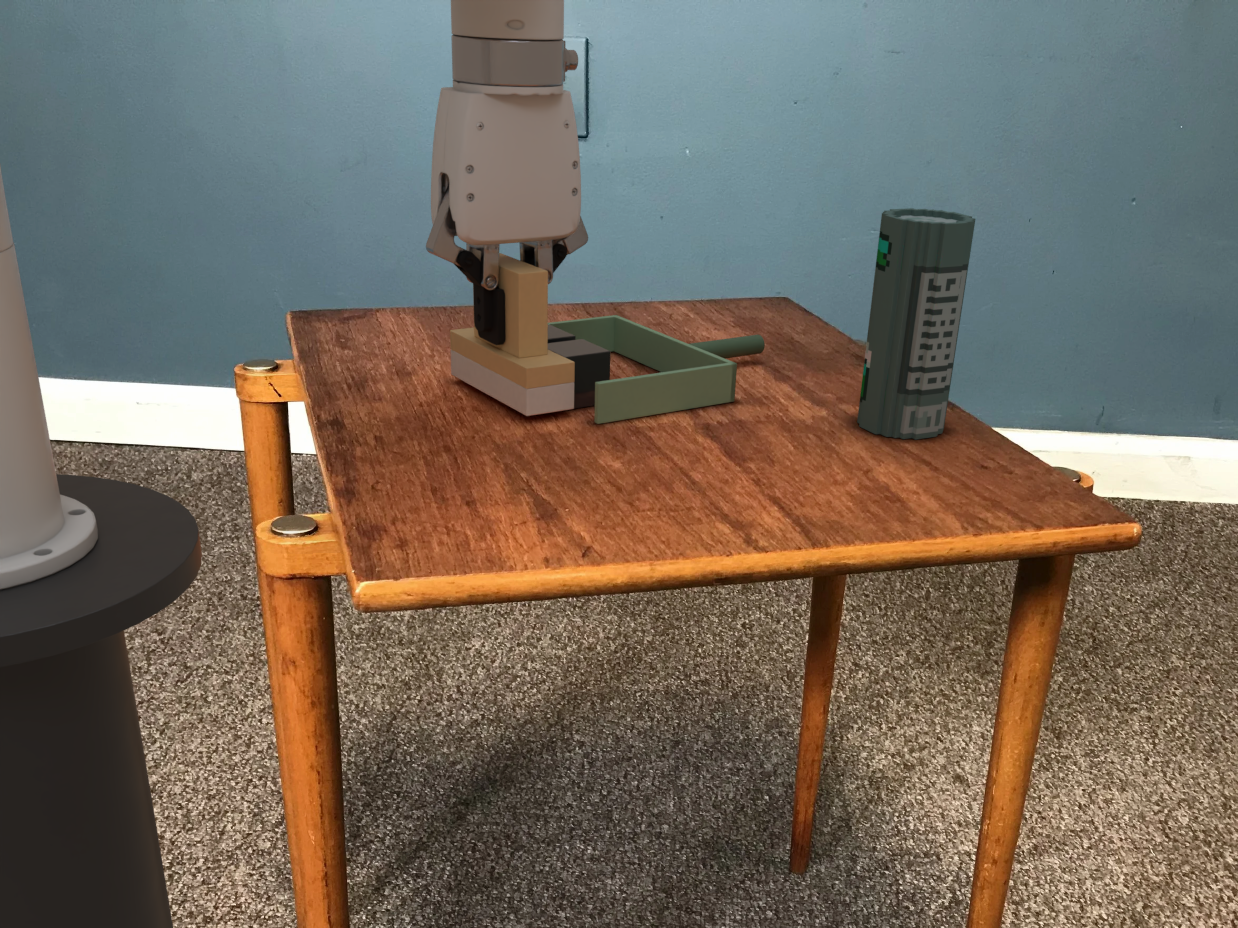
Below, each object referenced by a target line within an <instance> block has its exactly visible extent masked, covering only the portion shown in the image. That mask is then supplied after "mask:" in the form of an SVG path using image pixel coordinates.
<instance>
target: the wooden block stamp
mask: <svg viewBox="0 0 1238 928" xmlns="http://www.w3.org/2000/svg"><path fill="white" fill-rule="evenodd" d="M499 288H500V289H503V290H504V292H505V333H506V340H505V342H504V344H503V345H495V344H493V343H490V342H488V341H486V340H484V339H482V338H480V337H479V335H478V330H477V329H476V327H475V324H474V323H473V327H466V328H457V329H450V330H449V347H450V374H451V375H452V376H453V377H455V378H457V379H458V380H460V381H462V382H464V383H466V384H467V385H470V386H472V387H473V388H475V389H477V390H479V391H480V392H482V393H484V394H486V395H488V396H490V397H492V398H493V399H495V400H497V401H498V402H500V403H502V404H504V405H506V406H507V407H508V408H509V407H510V408H511V409H513V410H515V411H517V412H519V413H520V414H522V415H524V416H525V417H530V416H536V415H543V414H550V413H556V412H562V411H568V410H575V409H574V377H575V362H574V361H571V360H569V359H567V358H565V357H563V356H561V355H559V354H556V353H554V352H552V351H550V350H548V323H549V316H548V315H549V284H548V271H546V270H544V269H541V268H538V267H536V266H533V265H530V264H528V263H525V262H523V261H520V259H518V258H514V257H512V256H509V255H506V254H504V253H501V252H499ZM472 296H473V297H472V298H473V299H472V301H473V304H472V305H473V306H474V293H473V292H472Z"/></svg>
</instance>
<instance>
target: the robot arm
mask: <svg viewBox="0 0 1238 928" xmlns="http://www.w3.org/2000/svg"><path fill="white" fill-rule="evenodd" d="M450 22H451V23H450V25H451V26H450V27H451V34H452V35H451V68H452V69H451V70H452V71H451V73H452V86H446V87H445V86H444V87H443V86H442V87H440V92H439V97H438V103H437V109H436V113H435V114H436V116H435V123H434V130H433V131H434V132H433V141H432V154H431V172H430V173H431V174H430V176H431V177H430V215H431V224H432V227H431V229H430V232H429V235H428V238H427V241H426V243H425V249H426V251H427V252H428V253H429V254H430V255H434V256H435V257H438V258H440V259H442V260H444V261H446V262H449V263H451V264H453V265H454V266H455V267H456V268H457V269H458V270H459V271H460V272H461V273H462V274H463V275H464V277H465V278H466V280H467V281H468V282H469V283H471V284H472V294H473V293H474V305H473V325H474V324H475V327H476V329H477V330H478V335H479V337H480V338H482V339H484V340H486V341H488V342H490V343H493V344H495V345H503V344H504V342H505V340H506V333H505V292H504V290H503V289H500V288H499V253H500V246H501V245H505V244H517V243H518V244H519V260H520V261H523V262H525V263H528V264H530V265H533V266H536V267H538V268H541V269H544V270H546V271H548V285H549V284H551V283H552V281H553V279H554V273H555V272H556V270H558V268H559V267H560V266H561V264H562V263H563V262H564V260H565V259H566V258H567V256H568V255H571V254H573V253H574V252H576V251H577V250H579V249H580V248H582V247H584V246H585V245H586V244H587V243H588V241H589V235H588V232H587V228H586V226H585V224H584V221H583V219H582V216H581V214H582V213H581V210H582V174H581V157H580V156H581V154H580V143H579V135H578V127H577V121H576V114H575V108H574V102H573V99H572V94H571V91H569V90H567V89H564V83H565V82H566V73H567V72H568V71H576V70H577V68H578V66H579V54H578V53H577V51H576V50H575V49H567V48H566V40H564V38H565V0H450ZM455 237H457V238H458V239H459V240H460V241H462V242H463V243H465V244H466V247H465V248H463V247H461V246H459V245H458V244H456V243H455ZM13 238H14V237H13V232H12V225H11V221H10V216H9V209H8V203H7V198H6V193H5V186H4V180H3V173H2V165H1V164H0V590H3V589H8V588H12V587H16V586H19V585H23V584H27V583H31V582H33V581H36V580H39V579H42V578H45V577H48V576H50V575H53V574H55V573H57V572H59V571H61V570H63V569H66V568H68V567H70V566H71V565H73V564H74V563H76V562H77V561H79V560H80V559H82V558H83V557H84V556H85V555H86V554H87V553H88V552H89V551H90V550H91V549H92V548H93V547H94V545H95V543H96V541H97V539H98V529H97V523H96V519H95V516H94V513H93V512H92V511H91V510H90V509H89V508H88V507H87V506H86V505H84V504H82V503H81V502H79V501H77V500H75V499H72V498H70V497H67V496H64V495H60V493H59V487H58V482H57V476H56V474H57V471H56V466H55V459H54V455H53V449H52V444H51V438H50V433H49V426H48V422H47V416H46V410H45V406H44V400H43V399H44V398H43V394H42V389H41V383H40V378H39V372H38V368H37V361H36V357H35V351H34V345H33V344H34V343H33V339H32V333H31V329H30V323H29V318H28V313H27V312H28V311H27V307H26V301H25V296H24V289H23V284H22V279H21V274H20V267H19V263H18V257H17V252H16V246H15V242H14V239H13Z"/></svg>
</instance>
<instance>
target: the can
mask: <svg viewBox="0 0 1238 928" xmlns="http://www.w3.org/2000/svg"><path fill="white" fill-rule="evenodd" d="M975 225H976V218H973V216H971V215H967V214H964V213H959V212H955V211H946V210H942V209H939V210H937V209H929V208H913V207H910V208H908V207H907V208H890V209H889V210H884V211H882V212H881V217H880V227H879V235H878V241H877V251H876V260H875V269H874V275H873V276H874V277H873V286H872V293H871V301H870V310H869V317H868V318H869V319H868V327H867V334H866V343H865V344H866V345H865V353H864V361H863V368H862V369H863V371H862V377H861V387H860V393H859V394H860V395H859V402H858V411H857V420H856V423H857V424H859V425H858V427H859V428H862V429H863V430H866V431H868V432H869V433H872V434H874V435H882V436H884V437H886V438H893V439H901V440H908V439H913V440H921V439H928V438H930V439H931V438H936V437H938V435H942V434H943V432H944V430H945V424H946V417H947V411H948V403H949V397H950V391H951V384H952V378H953V372H954V371H953V370H954V366H955V365H954V363H955V357H956V351H957V344H958V338H959V331H960V324H961V317H962V312H963V311H962V310H963V304H964V297H965V293H966V286H967V285H966V284H967V278H968V272H969V264H970V260H971V259H970V258H971V251H972V245H973V238H974V232H975Z"/></svg>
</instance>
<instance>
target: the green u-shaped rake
mask: <svg viewBox="0 0 1238 928" xmlns="http://www.w3.org/2000/svg"><path fill="white" fill-rule="evenodd" d="M549 324H550V325H552V326H554V327H556V328H559V329H561V330H563V331H565V332H568V333H570V334H572V335H575V337H576V339H575V340H579V339H584V340H586V341H588V342H590V343H593V344H595V345H597V346H600V347H602V348H604V349H606V350H609V351H610V352H613V353H614V352H615V353H616V354H619V355H621V356H624V357H625V358H628V359H630V360H633V361H635V362H637V363H640V364H642V365H644V366H646V367H648V368H650V369H653V370H655V371H658V372H657V373H656V372H655V373H648V374H642V375H634V376H628V377H622V378H614V379H610V380H606V381H599V382H595V405H594V415H593V416H594V418H593V419H594V423H595V424H597V425H601V424H606V423H613V422H619V421H625V420H630V419H631V420H632V419H637V418H643V417H650V416H654V415H661V414H667V413H673V412H680V411H685V410H691V409H697V408H704V407H710V406H717V405H721V404H728V403H733V402H736V401H735V399H736V386H737V385H736V384H737V374H738V373H737V371H738V363H737V362H734V361H732V360H729V359H731V358H732V359H733V358H739V357H747V356H753V355H760V354H762V353H763V352H764V350H765V345H766V344H765V339H764V337H763V336H762V335H761V334H749V335H744V336H736V337H729V338H721V339H713V340H706V341H699V342H690V343H688V342H685V341H682V340H679V339H677V338H675V337H672V336H670V335H668V334H665V333H663V332H660V331H657V330H655V329H652V328H650V327H647V326H646V325H642V324H640V323H637V322H635V321H632V320H630V319H628V318H626V317H623V316H621V315H618V314H613V315H603V316H594V317H587V318H577V319H570V320H569V319H568V320H561V321H560V320H559V321H551V322H548V325H549Z"/></svg>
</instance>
